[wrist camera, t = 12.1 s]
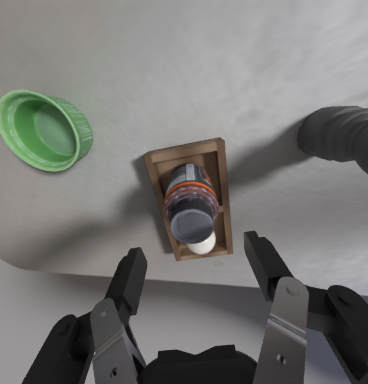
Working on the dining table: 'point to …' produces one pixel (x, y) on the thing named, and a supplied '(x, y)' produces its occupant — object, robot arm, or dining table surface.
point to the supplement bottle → (190, 204)
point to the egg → (203, 245)
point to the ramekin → (44, 130)
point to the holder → (216, 168)
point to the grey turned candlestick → (337, 134)
